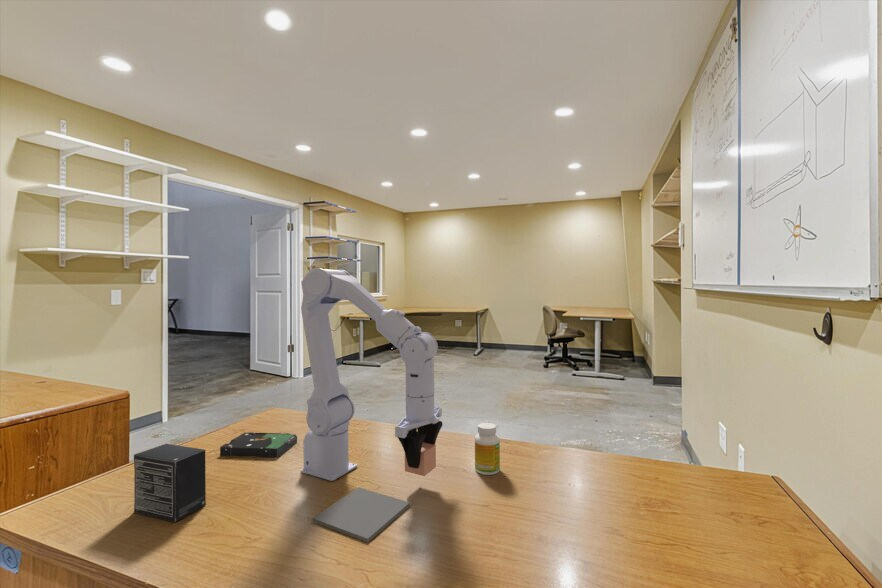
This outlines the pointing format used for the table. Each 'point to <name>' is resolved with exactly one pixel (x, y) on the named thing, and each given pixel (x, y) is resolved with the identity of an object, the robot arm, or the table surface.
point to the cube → (424, 460)
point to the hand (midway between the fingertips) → (420, 462)
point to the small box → (169, 481)
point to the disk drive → (259, 445)
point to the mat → (361, 513)
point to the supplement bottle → (487, 450)
